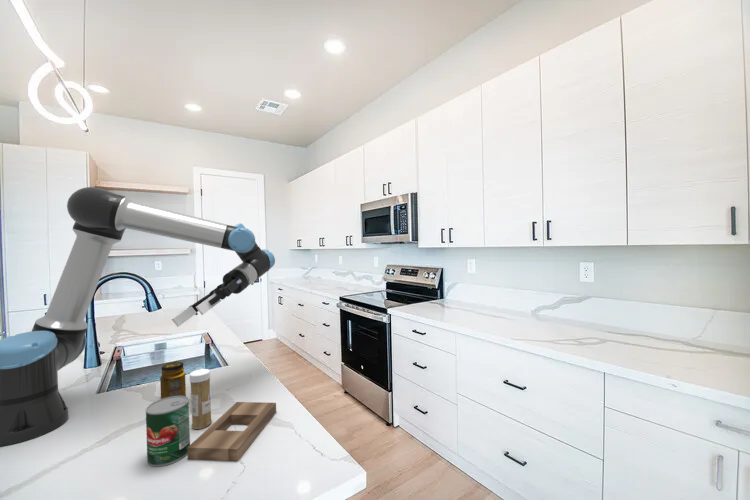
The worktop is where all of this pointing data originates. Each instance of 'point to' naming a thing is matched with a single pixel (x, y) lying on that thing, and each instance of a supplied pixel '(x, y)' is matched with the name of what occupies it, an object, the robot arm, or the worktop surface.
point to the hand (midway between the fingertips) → (186, 317)
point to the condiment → (172, 380)
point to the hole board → (232, 432)
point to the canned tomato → (167, 430)
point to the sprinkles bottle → (200, 398)
